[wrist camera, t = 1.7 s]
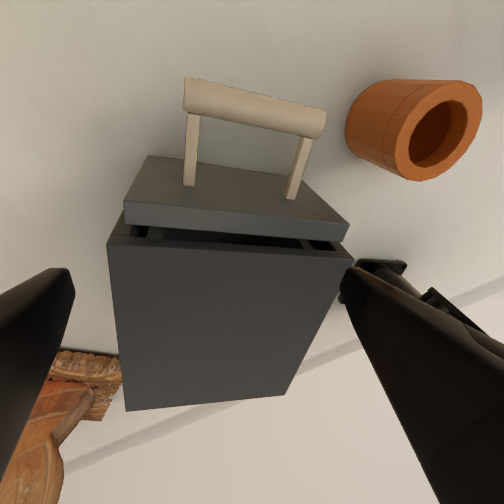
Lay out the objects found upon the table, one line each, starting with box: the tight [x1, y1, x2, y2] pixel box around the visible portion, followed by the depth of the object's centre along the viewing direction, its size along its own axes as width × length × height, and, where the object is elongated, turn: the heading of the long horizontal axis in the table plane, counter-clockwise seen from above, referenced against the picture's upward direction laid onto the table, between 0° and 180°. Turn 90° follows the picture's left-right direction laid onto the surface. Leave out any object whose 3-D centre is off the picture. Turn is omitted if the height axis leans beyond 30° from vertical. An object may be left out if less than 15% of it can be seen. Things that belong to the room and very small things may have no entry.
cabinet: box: [106, 210, 354, 412], centre depth 20 cm, size 15×13×10 cm
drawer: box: [123, 76, 350, 250], centre depth 18 cm, size 18×11×8 cm, turn 168°
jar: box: [345, 79, 482, 181], centre depth 17 cm, size 5×5×6 cm
